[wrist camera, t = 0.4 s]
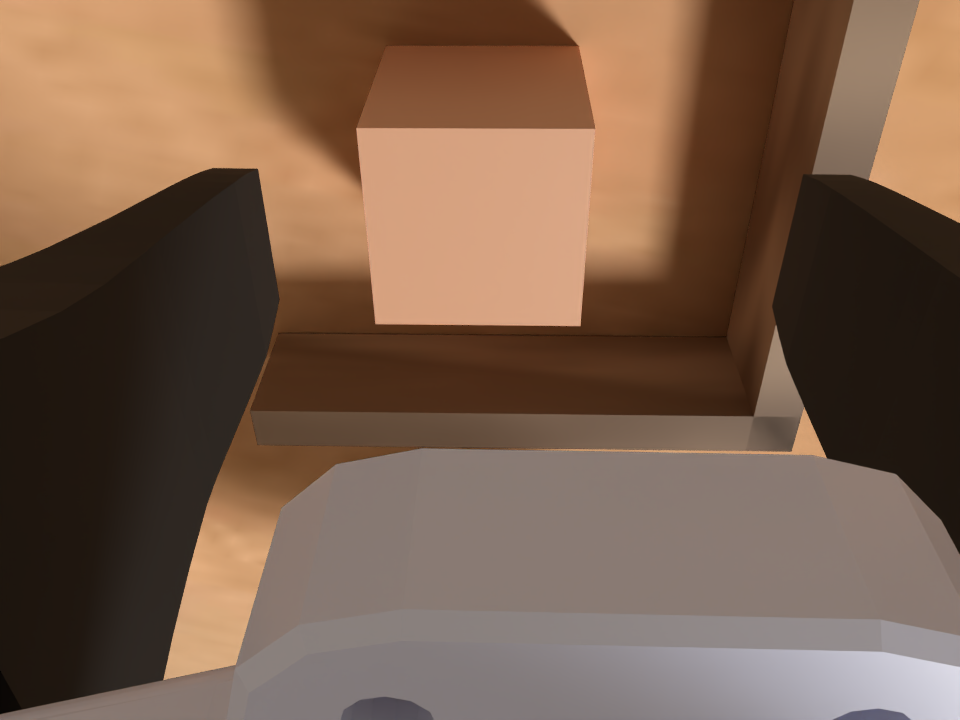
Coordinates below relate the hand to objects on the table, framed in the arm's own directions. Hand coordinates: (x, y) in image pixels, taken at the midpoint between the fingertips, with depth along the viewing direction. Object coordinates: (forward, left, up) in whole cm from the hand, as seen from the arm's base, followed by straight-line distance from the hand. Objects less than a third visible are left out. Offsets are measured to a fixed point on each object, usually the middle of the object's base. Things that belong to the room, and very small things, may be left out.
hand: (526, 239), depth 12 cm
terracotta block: (-3, +1, -10) cm, 11 cm away
